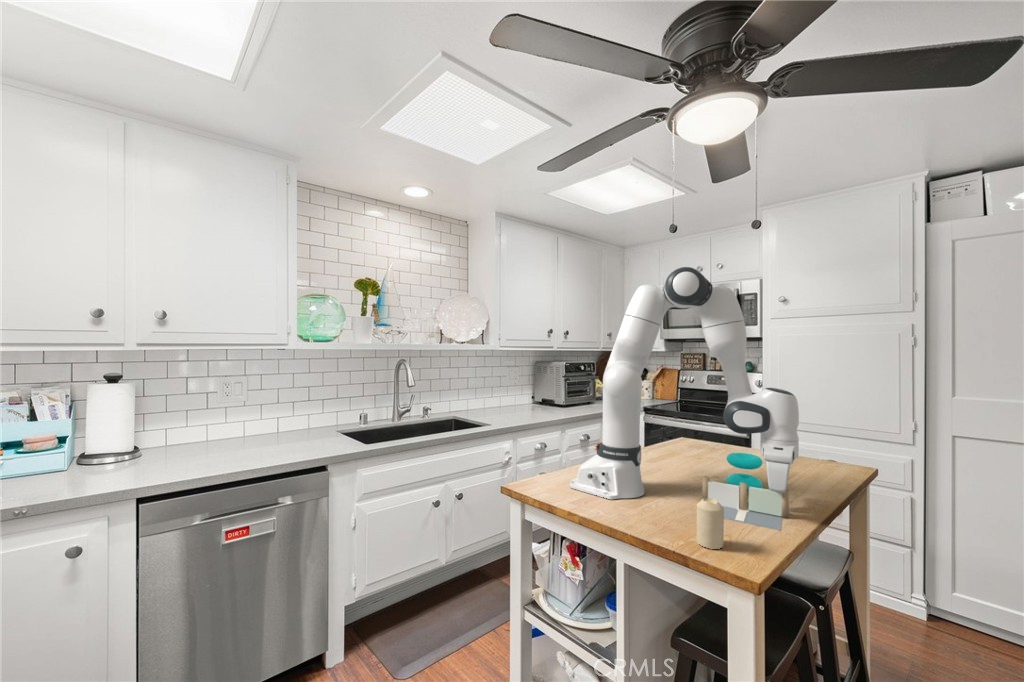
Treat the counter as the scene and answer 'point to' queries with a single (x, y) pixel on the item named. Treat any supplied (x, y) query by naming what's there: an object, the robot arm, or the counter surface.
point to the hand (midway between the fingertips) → (778, 499)
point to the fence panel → (769, 501)
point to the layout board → (753, 517)
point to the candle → (710, 523)
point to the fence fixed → (725, 493)
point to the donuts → (744, 463)
